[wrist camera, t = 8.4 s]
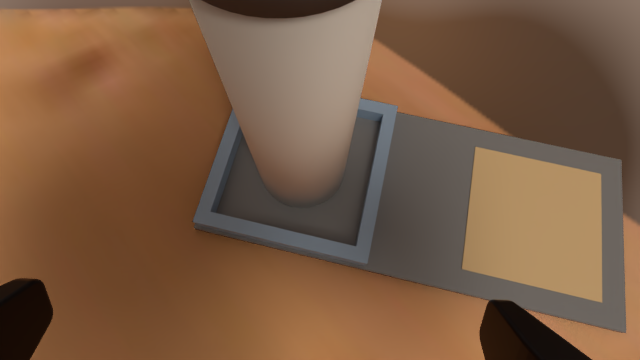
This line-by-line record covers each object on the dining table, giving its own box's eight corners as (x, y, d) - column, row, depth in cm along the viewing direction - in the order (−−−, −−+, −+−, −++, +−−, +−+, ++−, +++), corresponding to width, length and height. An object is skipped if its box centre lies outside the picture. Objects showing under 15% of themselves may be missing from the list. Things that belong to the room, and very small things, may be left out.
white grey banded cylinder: (305, 231, 17) (272, -61, 3) (237, 170, 18) (2, -246, 4) (367, 163, 18) (518, -254, 5) (299, 109, 19) (264, -368, 6)
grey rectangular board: (616, 162, 18) (634, 153, 17) (620, 332, 16) (642, 334, 15) (246, 83, 20) (243, 70, 18) (195, 229, 17) (187, 224, 16)
